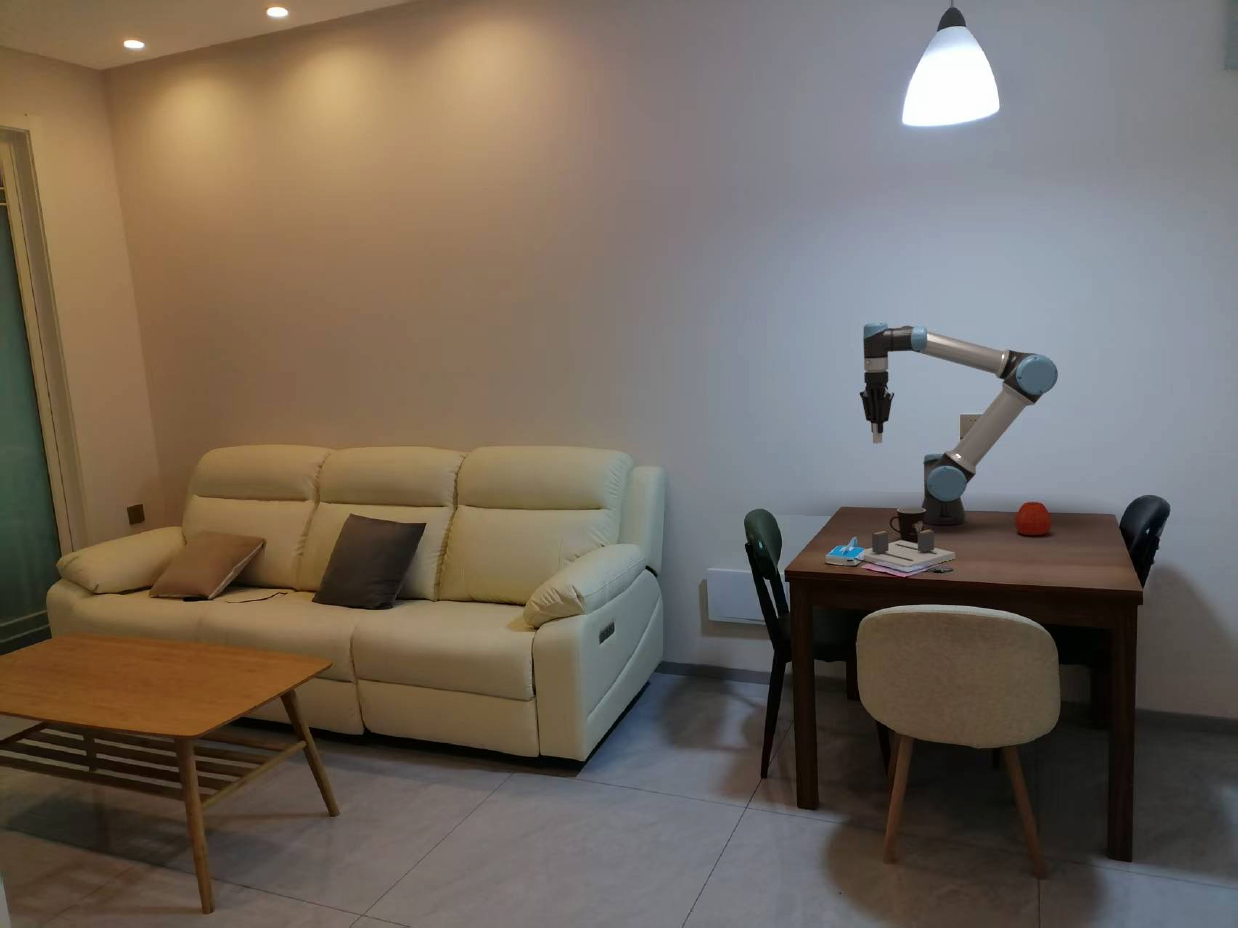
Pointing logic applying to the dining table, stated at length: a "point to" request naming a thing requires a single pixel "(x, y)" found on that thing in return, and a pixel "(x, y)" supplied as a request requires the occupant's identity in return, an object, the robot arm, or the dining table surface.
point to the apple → (1033, 519)
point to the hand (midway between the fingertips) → (877, 442)
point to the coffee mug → (910, 523)
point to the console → (908, 555)
